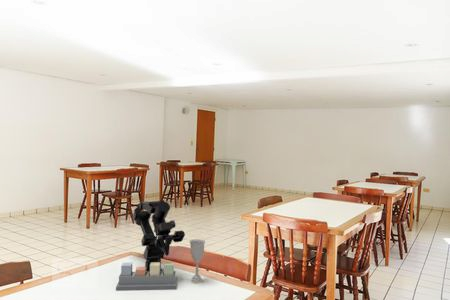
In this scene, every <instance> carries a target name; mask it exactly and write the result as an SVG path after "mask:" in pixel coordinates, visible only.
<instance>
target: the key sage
mask: <svg viewBox="0 0 450 300" xmlns="http://www.w3.org/2000/svg"><path fill="white" fill-rule="evenodd" d="M163 271H164V276H168V275H174V271H175V261H174V262H173V261H169V262H168V261H164V264H163Z"/></svg>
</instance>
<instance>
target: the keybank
mask: <svg viewBox="0 0 450 300" xmlns="http://www.w3.org/2000/svg"><path fill="white" fill-rule="evenodd" d="M176 273H177V271H176V270H174V275H168V276H164V270H162V271H160V276H150V271H149V272H147V271H146V276H136V271H132V276H121V273H119V275H118V283H117V284H116V286H115V291H152V290H153V291H157V290H162V291H163V290H167V291H168V290H177V289H178V276H176V275H177V274H176Z"/></svg>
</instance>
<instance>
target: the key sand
mask: <svg viewBox="0 0 450 300" xmlns="http://www.w3.org/2000/svg"><path fill="white" fill-rule="evenodd" d="M150 276H160V262H151V264H150Z"/></svg>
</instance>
